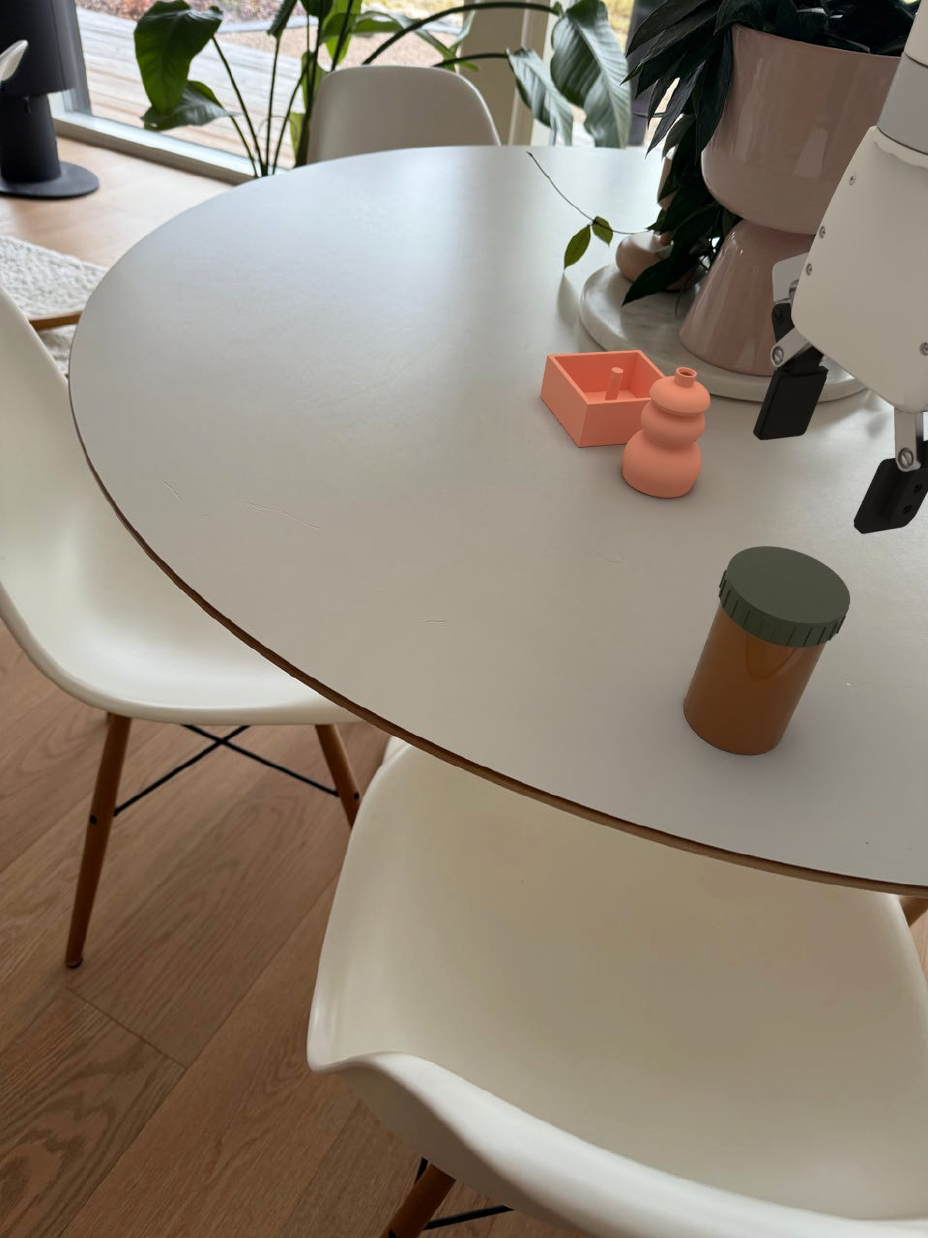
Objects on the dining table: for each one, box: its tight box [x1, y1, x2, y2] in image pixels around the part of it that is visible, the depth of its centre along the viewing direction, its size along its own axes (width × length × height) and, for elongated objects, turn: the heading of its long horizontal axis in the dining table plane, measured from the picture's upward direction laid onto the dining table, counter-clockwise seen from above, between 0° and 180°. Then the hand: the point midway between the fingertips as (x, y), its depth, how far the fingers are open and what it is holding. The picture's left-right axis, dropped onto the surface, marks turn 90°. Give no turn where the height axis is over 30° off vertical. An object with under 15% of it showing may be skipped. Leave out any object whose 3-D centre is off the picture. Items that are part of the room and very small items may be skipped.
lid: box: [718, 545, 851, 647], centre depth 57 cm, size 7×7×2 cm
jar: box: [683, 601, 828, 756], centre depth 61 cm, size 6×6×11 cm
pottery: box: [539, 349, 711, 499], centre depth 86 cm, size 18×10×10 cm, turn 19°
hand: (826, 477), depth 53 cm, fingers open, 8 cm apart
